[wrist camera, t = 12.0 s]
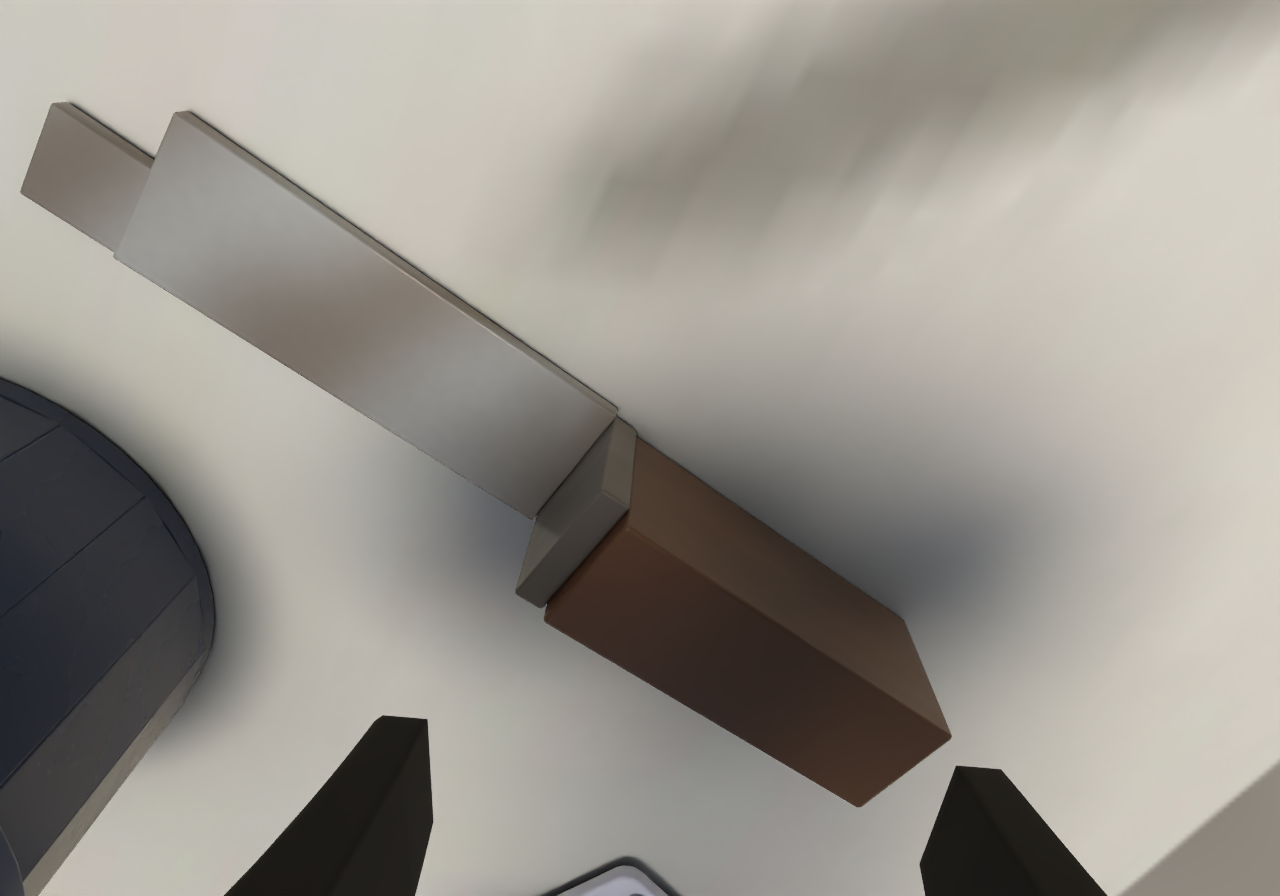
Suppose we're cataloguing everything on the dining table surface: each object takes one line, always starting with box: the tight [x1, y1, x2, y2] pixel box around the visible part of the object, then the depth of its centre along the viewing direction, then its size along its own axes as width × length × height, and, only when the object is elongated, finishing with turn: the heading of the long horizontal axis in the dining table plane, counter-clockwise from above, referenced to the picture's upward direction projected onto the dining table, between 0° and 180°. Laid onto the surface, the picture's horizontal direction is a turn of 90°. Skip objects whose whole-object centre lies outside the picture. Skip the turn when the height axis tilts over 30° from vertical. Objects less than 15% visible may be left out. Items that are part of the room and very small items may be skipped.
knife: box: [20, 102, 952, 807], centre depth 14 cm, size 19×3×3 cm, turn 53°
